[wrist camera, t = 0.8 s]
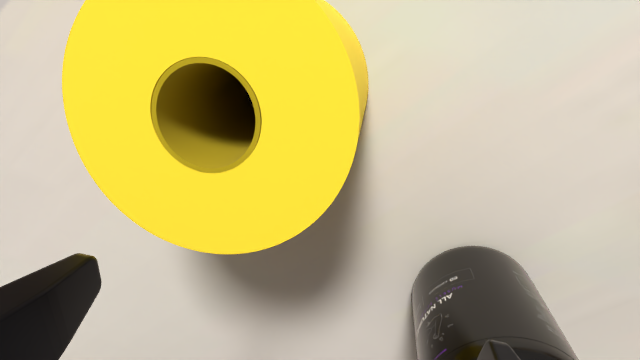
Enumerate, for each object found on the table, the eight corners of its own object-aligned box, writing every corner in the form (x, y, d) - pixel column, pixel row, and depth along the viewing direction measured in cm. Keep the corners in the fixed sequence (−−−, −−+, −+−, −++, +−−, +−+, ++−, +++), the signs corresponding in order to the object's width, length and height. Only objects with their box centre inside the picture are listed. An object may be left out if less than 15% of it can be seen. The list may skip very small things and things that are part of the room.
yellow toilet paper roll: (179, -17, 21) (35, -57, 12) (374, -15, 20) (369, -57, 11) (193, 168, 24) (87, 241, 16) (362, 180, 23) (351, 266, 14)
